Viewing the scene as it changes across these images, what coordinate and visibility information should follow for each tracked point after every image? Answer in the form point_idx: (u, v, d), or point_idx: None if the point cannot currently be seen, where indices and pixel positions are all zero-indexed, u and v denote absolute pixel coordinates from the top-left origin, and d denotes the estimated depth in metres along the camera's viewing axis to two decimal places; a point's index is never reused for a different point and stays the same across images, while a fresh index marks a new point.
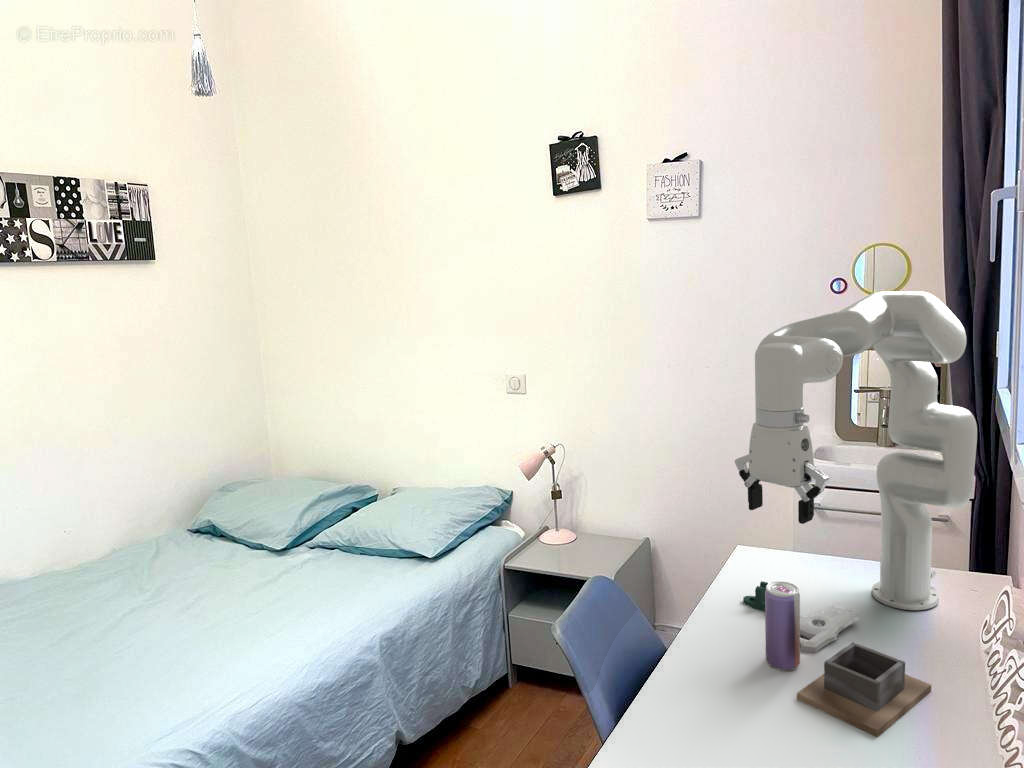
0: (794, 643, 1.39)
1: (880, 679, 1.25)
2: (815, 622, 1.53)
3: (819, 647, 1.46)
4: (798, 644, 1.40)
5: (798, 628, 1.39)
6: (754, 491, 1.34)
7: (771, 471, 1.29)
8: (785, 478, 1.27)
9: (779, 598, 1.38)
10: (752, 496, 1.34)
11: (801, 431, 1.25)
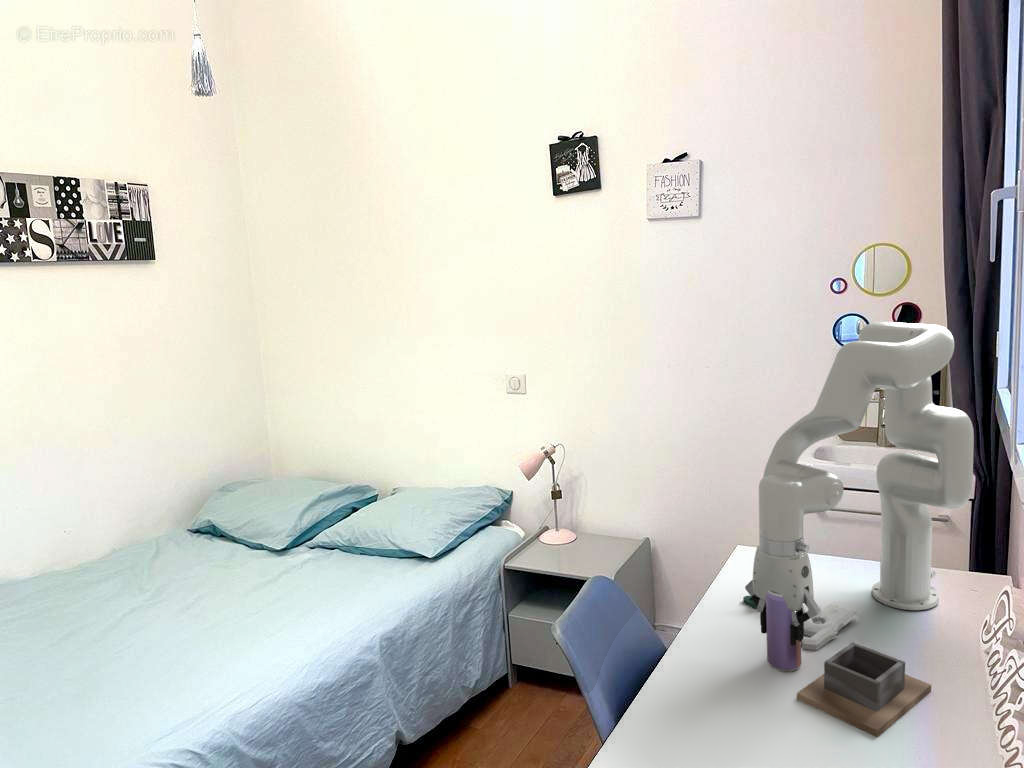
0: None
1: (880, 679, 1.25)
2: (815, 620, 1.54)
3: (820, 645, 1.47)
4: (799, 644, 1.39)
5: None
6: None
7: None
8: (786, 602, 1.37)
9: (780, 599, 1.37)
10: (764, 621, 1.42)
11: (801, 559, 1.35)
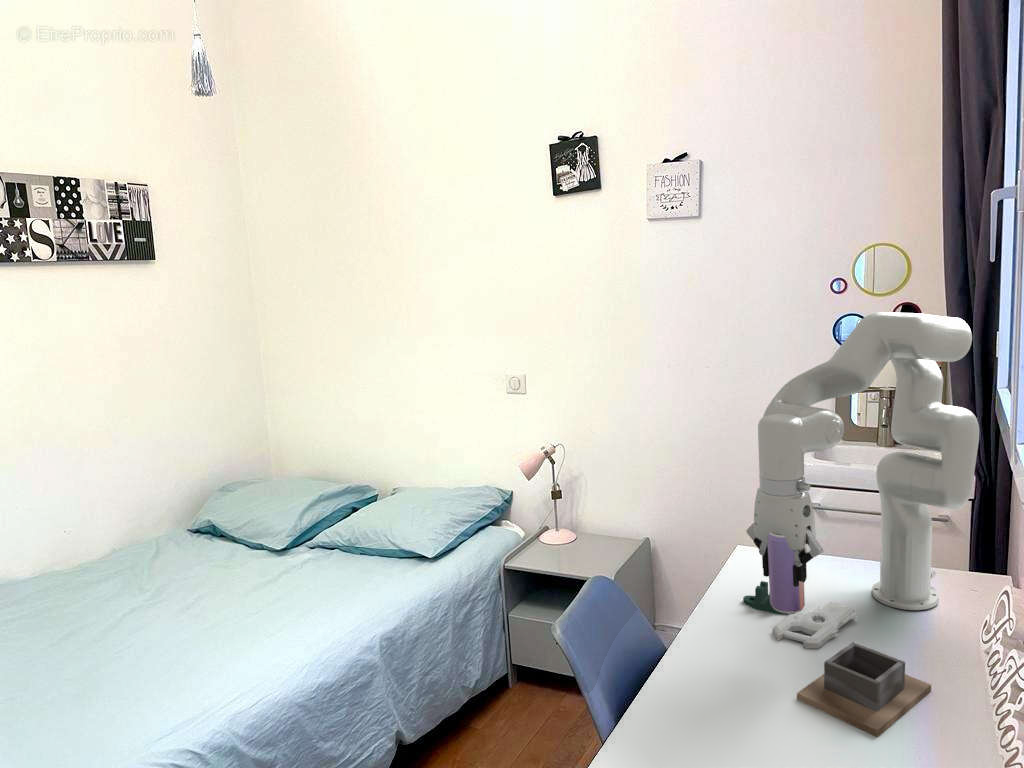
0: None
1: (880, 679, 1.25)
2: (815, 618, 1.55)
3: (821, 643, 1.47)
4: (802, 586, 1.38)
5: None
6: None
7: None
8: (788, 542, 1.35)
9: (781, 540, 1.35)
10: (766, 563, 1.41)
11: (803, 499, 1.33)
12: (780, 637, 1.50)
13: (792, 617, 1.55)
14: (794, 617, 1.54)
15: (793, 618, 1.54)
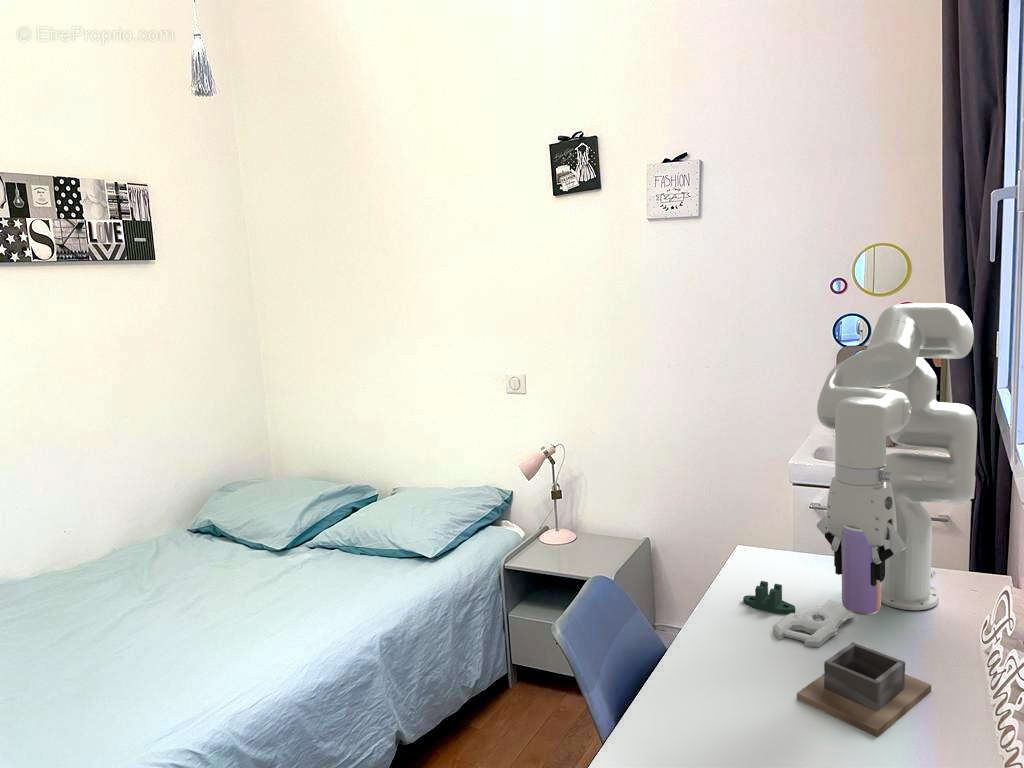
0: None
1: (880, 679, 1.25)
2: (814, 617, 1.55)
3: (822, 642, 1.48)
4: (879, 585, 1.26)
5: None
6: None
7: None
8: (867, 537, 1.24)
9: (858, 534, 1.24)
10: (839, 560, 1.29)
11: (885, 489, 1.22)
12: (781, 636, 1.51)
13: (792, 616, 1.55)
14: (794, 616, 1.55)
15: (793, 617, 1.55)
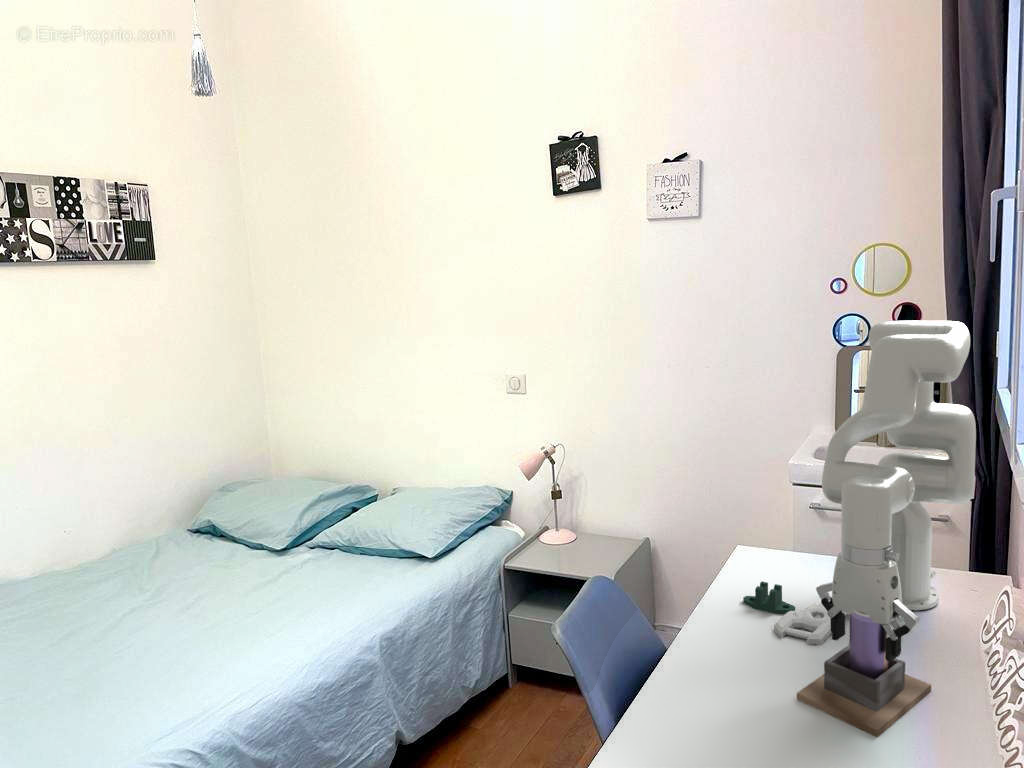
0: (883, 668, 1.27)
1: (880, 679, 1.25)
2: (813, 614, 1.56)
3: (823, 639, 1.49)
4: (887, 669, 1.28)
5: None
6: (838, 621, 1.32)
7: (858, 605, 1.27)
8: (873, 615, 1.25)
9: (867, 620, 1.26)
10: (836, 627, 1.32)
11: (890, 569, 1.23)
12: (782, 634, 1.51)
13: (792, 614, 1.56)
14: (794, 614, 1.56)
15: (793, 615, 1.56)
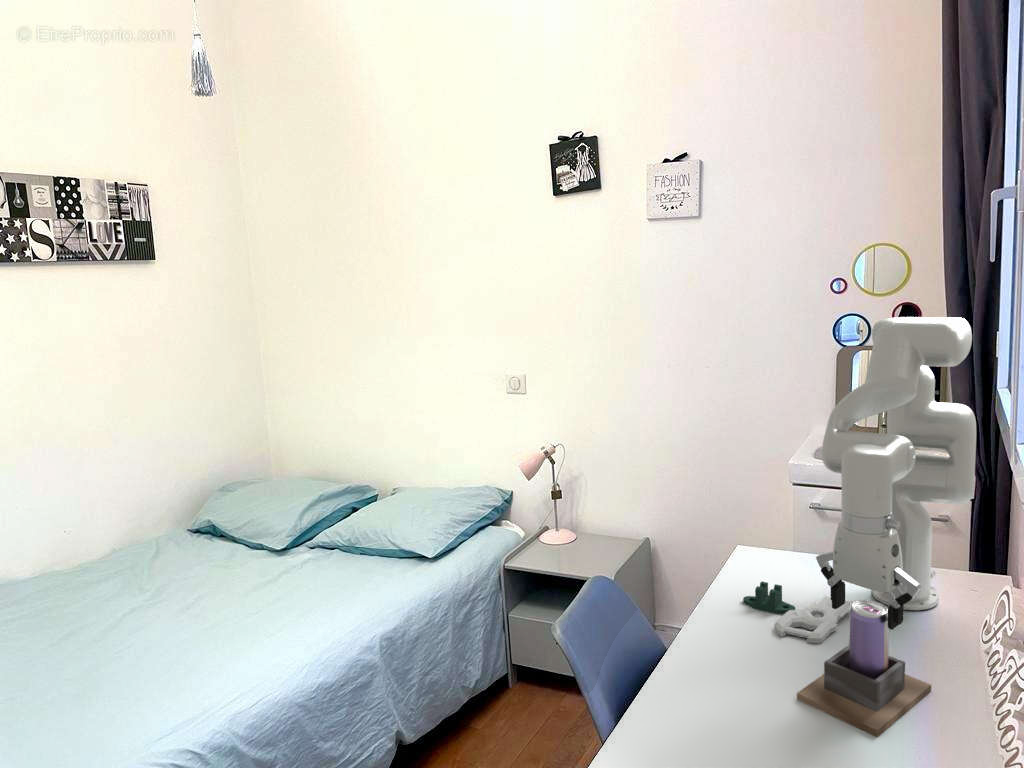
0: (883, 668, 1.27)
1: (880, 679, 1.25)
2: (813, 613, 1.57)
3: (824, 638, 1.49)
4: (887, 669, 1.28)
5: (887, 652, 1.27)
6: (838, 590, 1.31)
7: (859, 574, 1.26)
8: (874, 583, 1.24)
9: (867, 620, 1.26)
10: (836, 595, 1.31)
11: (891, 537, 1.22)
12: (783, 634, 1.51)
13: (792, 613, 1.56)
14: (794, 613, 1.56)
15: (793, 614, 1.56)
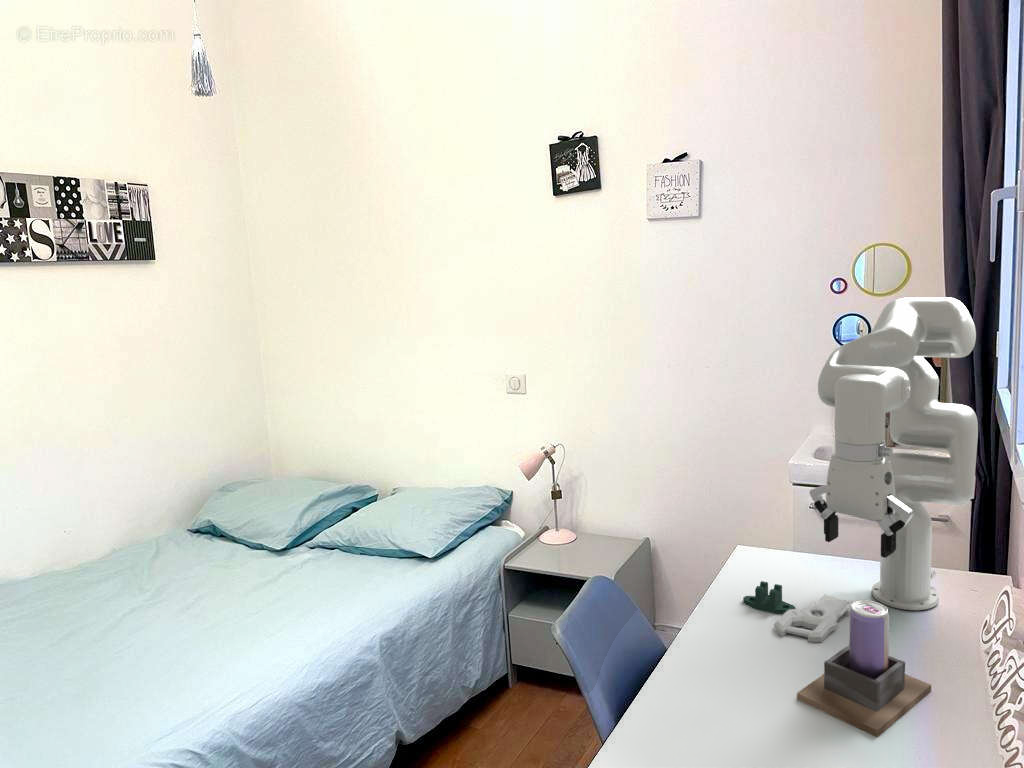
0: (883, 668, 1.27)
1: (880, 679, 1.25)
2: (812, 612, 1.57)
3: (824, 636, 1.49)
4: (887, 669, 1.28)
5: (887, 652, 1.27)
6: (831, 523, 1.32)
7: (852, 504, 1.27)
8: (867, 512, 1.25)
9: (867, 620, 1.26)
10: (829, 528, 1.32)
11: (884, 464, 1.23)
12: (783, 633, 1.52)
13: (792, 612, 1.57)
14: (794, 612, 1.56)
15: (793, 613, 1.56)
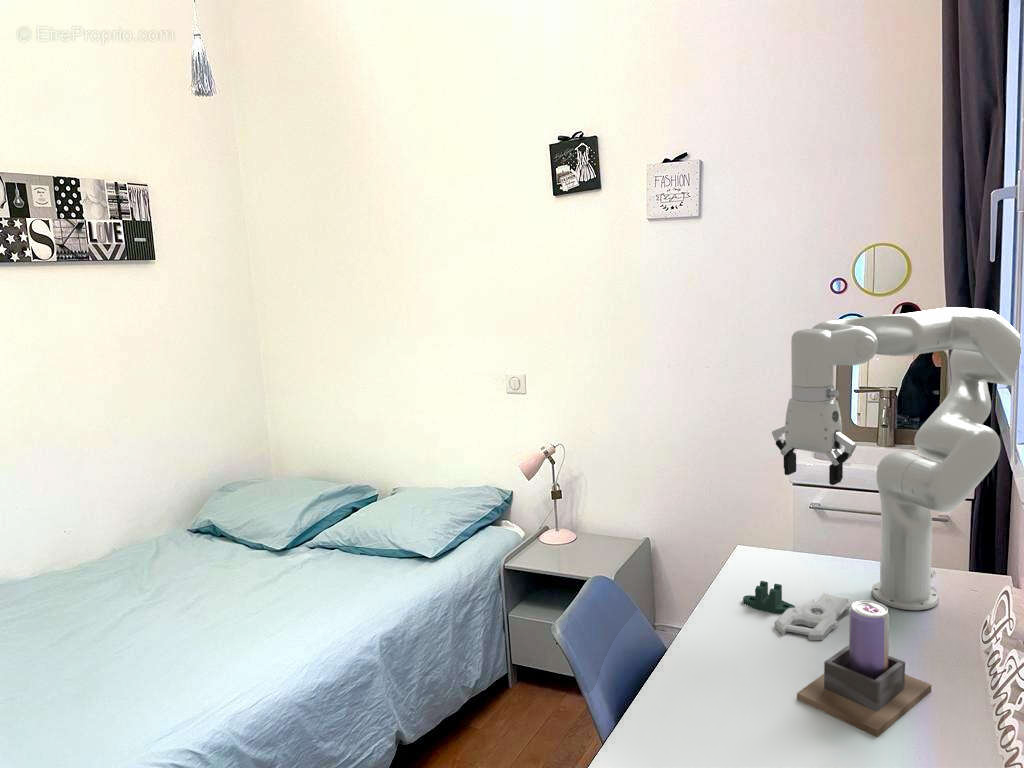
0: (883, 668, 1.27)
1: (880, 679, 1.25)
2: (812, 611, 1.58)
3: (824, 634, 1.50)
4: (887, 669, 1.28)
5: (887, 652, 1.27)
6: (789, 458, 1.54)
7: (805, 440, 1.49)
8: (818, 446, 1.47)
9: (867, 620, 1.26)
10: (787, 463, 1.54)
11: (832, 404, 1.45)
12: (784, 631, 1.52)
13: (792, 611, 1.57)
14: (794, 611, 1.57)
15: (793, 612, 1.57)
